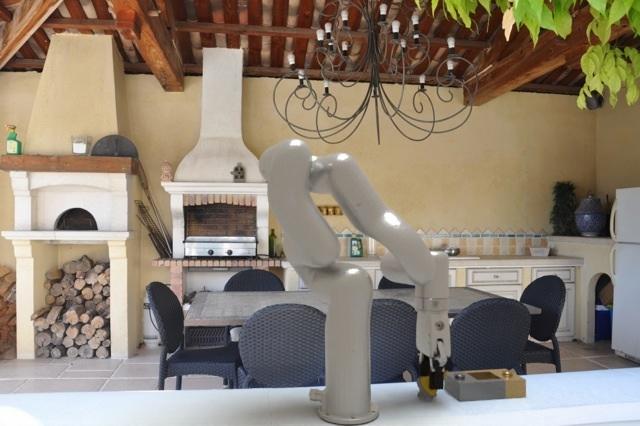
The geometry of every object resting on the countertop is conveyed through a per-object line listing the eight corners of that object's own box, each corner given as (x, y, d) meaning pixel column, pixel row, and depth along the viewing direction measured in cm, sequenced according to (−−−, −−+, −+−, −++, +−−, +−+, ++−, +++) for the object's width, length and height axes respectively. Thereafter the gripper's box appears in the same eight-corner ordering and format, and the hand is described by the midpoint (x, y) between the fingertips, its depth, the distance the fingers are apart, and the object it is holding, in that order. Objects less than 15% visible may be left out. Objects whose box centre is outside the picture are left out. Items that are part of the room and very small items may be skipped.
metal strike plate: (460, 401, 113) (459, 380, 113) (444, 388, 122) (443, 369, 122) (526, 397, 116) (525, 376, 116) (505, 385, 125) (505, 366, 125)
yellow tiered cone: (423, 394, 119) (454, 369, 115) (426, 410, 114) (458, 385, 110) (407, 381, 118) (437, 356, 114) (408, 397, 113) (440, 371, 109)
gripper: (463, 310, 108) (462, 396, 107) (433, 299, 125) (432, 374, 124) (429, 310, 107) (429, 397, 106) (404, 300, 123) (403, 375, 123)
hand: (431, 384), depth 115 cm, fingers closed on yellow tiered cone, 5 cm apart
